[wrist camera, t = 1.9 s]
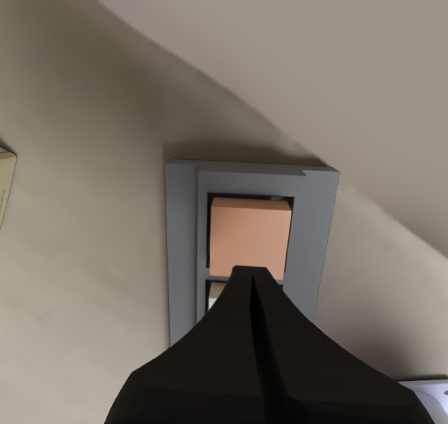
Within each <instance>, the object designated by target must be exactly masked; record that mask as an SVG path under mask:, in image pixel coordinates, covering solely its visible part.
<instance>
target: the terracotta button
mask: <svg viewBox="0 0 448 424" xmlns="http://www.w3.org/2000/svg"><path fill="white" fill-rule="evenodd" d="M291 212H292V211H291V209H290V207H289V204H288V202H287V201H279V200H260V199H241V198H222V197H214V199H213V202H212V206H211V239H210V275H213V276H229V277H230V275H231V272H232V268H233V267H234V266H235V265H240V266H257V267H267V268H268V270H269V271H270V273H271V274H272V276H273V277H274V279H277V280H283V275H284V267H285V259H286V251H287V243H288V235H289V228H290V220H291Z"/></svg>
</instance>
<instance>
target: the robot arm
mask: <svg viewBox="0 0 448 424" xmlns="http://www.w3.org/2000/svg"><path fill="white" fill-rule="evenodd" d="M104 424H448V379H442V380H422V381H403V382H396V381H394V380H393V379H391V378H389V377H387V376H385V375H384V374H382V373H380V372H378V371H377V370H375V369H373V368H372V367H370V366H369V365H367V364H366V363H364V362H362V361H361V360H359V359H358V358H356V357H355V356H353V355H352V354H350V353H349V352H348V351H346V350H345V349H343V348H342V347H341V346H339V345H338V344H337V343H336V342H334V341H333V340H332V339H330V338H329V337H328V336H327V335H325V334H324V333H323V332H322V331H321V330H319V329H318V328H317V327H316V326H315V325H314V324H313V323H312V322H311V321H310V320H309V319H307V318H306V317H305V316H304V315H303V313H302V312H301V311H300V310H299V309H298V308H297V307H296V306H295V305H294V303H293V302H292V301H291V300H290V299H289V297H288V296H287V295H286V294H285V292H284V291H283V290H282V288H281V287H280V286H279V284H278V283H277V282H276V280H275V279H274V277H273V276H272V274H271V273H270V271H269V270H268V268H267V267H257V266H240V265H235V266H234V267H233V268H232V272H231V275H230V277H229V279H228V281H227V283H226V285H225V287H224V288H223V290H222V292H221V293H220V295H219V296H218V298H217V299H216V301H215V302H214V304H213V305H212V306H211V308H210V309H209V310H208V311H207V313H206V314H205V315H204V316H203V317H202V318H201V320H200V321H199V322H198V323H197V324H196V325H195V326H194V327H193V328H192V329H191V330H190V331H189V332H188V333H187V334H185V335H184V336H183V337H182V338H181V339H180V340H179V341H177V342H176V343H175V344H173V345H172V346H171V347H170V348H168V349H167V350H166V351H164V352H163V353H162V354H160V355H159V356H158V357H156V358H154V359H153V360H151V361H150V362H148V363H146V364H145V365H143V366H141V367H140V368H138V369H136V370H135V371H133V372H132V373H131V374H130V376H129V377H128V379H127V380H126V382H125V384H124V385H123V387H122V389H121V390H120V392H119V394H118V396H117V397H116V399H115V401H114V403H113V405H112V407H111V409H110V411H109V413H108V416H107V418H106V421H105V423H104Z"/></svg>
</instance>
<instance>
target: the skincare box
mask: <svg viewBox="0 0 448 424" xmlns="http://www.w3.org/2000/svg"><path fill="white" fill-rule="evenodd" d="M16 159H17V157H16V155H15V154H13V153H11V152H8V151H6V150H4V149H2V148H0V228H1V223H2V220H3V216H4V212H5V208H6V204H7V199H8V195H9V191H10V187H11V182H12V178H13V173H14V169H15V164H16Z"/></svg>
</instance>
